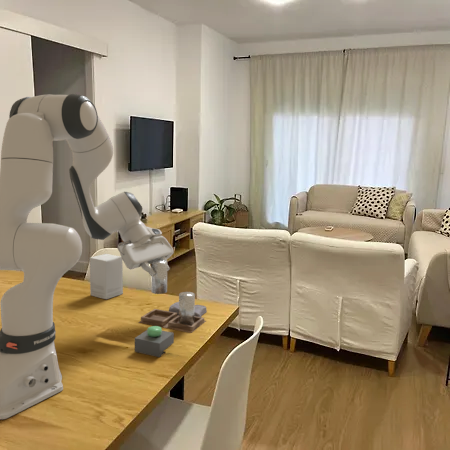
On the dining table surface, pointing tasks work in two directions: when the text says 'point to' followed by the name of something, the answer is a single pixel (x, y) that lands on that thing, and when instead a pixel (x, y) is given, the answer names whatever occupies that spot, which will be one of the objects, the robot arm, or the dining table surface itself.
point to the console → (153, 343)
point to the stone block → (198, 312)
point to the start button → (154, 331)
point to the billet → (159, 277)
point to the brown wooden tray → (170, 320)
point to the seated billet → (186, 308)
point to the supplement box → (106, 276)
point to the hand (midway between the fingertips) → (160, 272)
